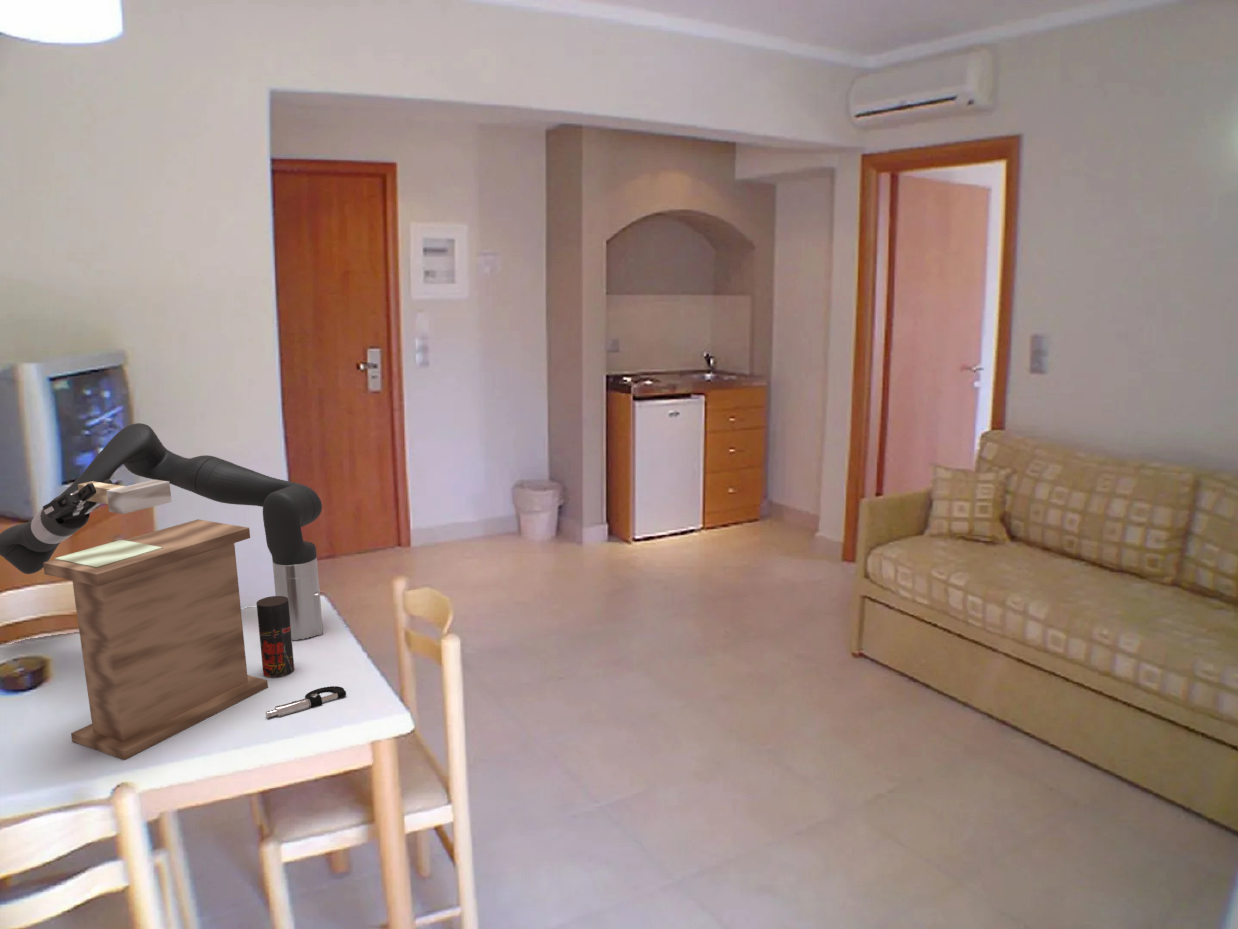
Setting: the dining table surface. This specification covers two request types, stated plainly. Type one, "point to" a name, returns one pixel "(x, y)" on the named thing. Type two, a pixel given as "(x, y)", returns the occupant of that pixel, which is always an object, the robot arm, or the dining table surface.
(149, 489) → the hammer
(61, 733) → the dining table surface
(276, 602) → the deodorant
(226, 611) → the stand
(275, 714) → the micrometer
